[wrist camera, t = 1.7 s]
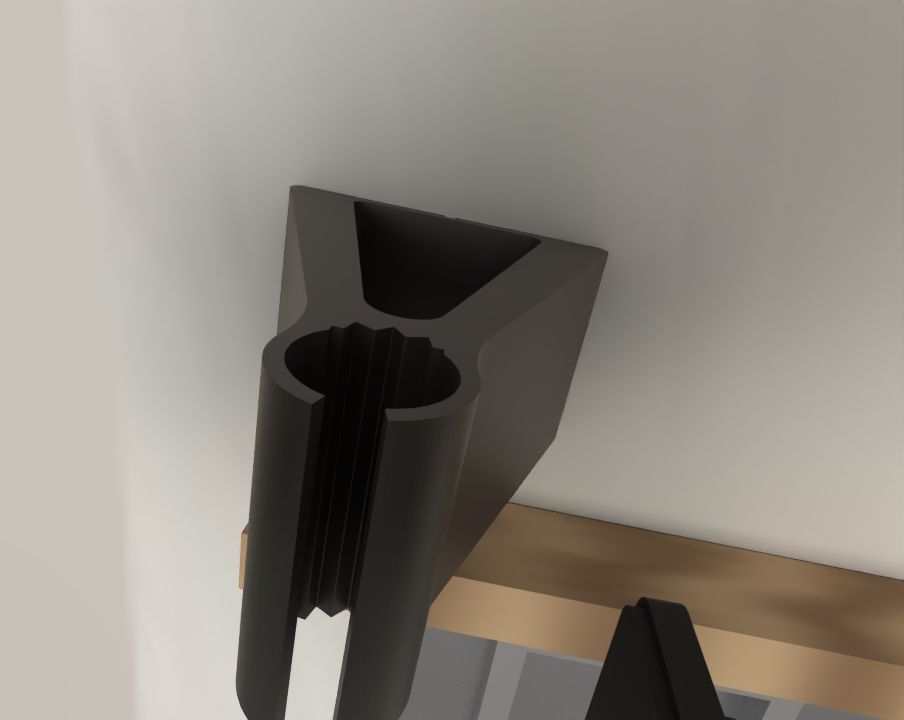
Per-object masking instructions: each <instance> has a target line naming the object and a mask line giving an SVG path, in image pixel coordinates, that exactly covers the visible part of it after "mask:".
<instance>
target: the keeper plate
mask: <svg viewBox="0 0 904 720" xmlns="http://www.w3.org/2000/svg"><path fill="white" fill-rule="evenodd" d="M603 664H604V662H600V661H595V660H590V659H585V658H580V657H575V656H570V655H565V654H560V653H555V652H550V651H546V650H541V649H536V648H531V647H526V646H521V645H516V644H511V643H506V642H501V641H496V640H491V639H486V638H481V637H477V636H472V635H467V634H462V633H457V632H452V631H447V630H442V629H437V628H432V627H427V626H426V628H425V632H424V636H423V641H422V645H421V649H420V654H419V658H418V662H417V667H416V671H415V676H414V680H413V684H412V689H411V693H410V697H409V700H408V703H407V705H406V707H405V709H404V711H403V713H402V715H401V716H400V718H399V719H398V720H585V717H586V714H587V711H588V708H589V705H590V702H591V699H592V696H593V694H594V691H595V688H596V685H597V682H598V679H599V676H600V673H601V670H602V667H603ZM714 687H715V690H716V693H717V695H718V698H719V701H720V704H721V707H722V710H723V713H724V716H726V717H731V718H735V719H737V720H886V719H881V718H876V717H871V716H866V715H861V714H856V713H851V712H846V711H841V710H836V709H832V708H827V707H822V706H817V705H812V704H807V703H802V702H797V701H792V700H787V699H782V698H777V697H772V696H767V695H762V694H758V693H753V692H748V691H743V690H738V689H733V688H728V687H723V686H718V685H714Z"/></svg>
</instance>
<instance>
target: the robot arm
mask: <svg viewBox="0 0 904 720" xmlns="http://www.w3.org/2000/svg"><path fill="white" fill-rule="evenodd" d="M585 720H737V719H735V718H731V717H726V716H724V713H723V710H722V707H721V704H720V701H719V698H718V695H717V693H716V690H715V687H714V684H713V681H712V678H711V675H710V673H709V670H708V667H707V664H706V661H705V658H704V655H703V653H702V650H701V647H700V644H699V641H698V638H697V635H696V633H695V630H694V627H693V624H692V621H691V618H690V615H689V613H688V610H687V608H686V607H685V606H684V605H683V604H680V603H675V602H670V601H664V600H659V599H653V598H648V597H641V598H640V599H639V600H638V601H637V604H636V606H631V605H625V606H624V607H623V609H622V612H621V614H620V617H619V620H618V623H617V626H616V629H615V632H614V635H613V638H612V641H611V644H610V647H609V650H608V653H607V655H606V658H605V661H604V664H603V667H602V670H601V673H600V676H599V679H598V682H597V685H596V688H595V691H594V694H593V696H592V699H591V702H590V705H589V708H588V711H587V714H586V717H585Z"/></svg>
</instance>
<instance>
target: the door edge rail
mask: <svg viewBox="0 0 904 720" xmlns="http://www.w3.org/2000/svg"><path fill="white" fill-rule="evenodd" d="M248 525H249V522H248V524H247V525H246V527H245V529H244V530H243V532H242V533H241V553H240V573H239V588H240V589H243V586H244V574H245V561H246V549H247V537H248ZM641 597H648V598H653V599H659V600H664V601H670V602H675V603H680V604H683V605H684V606H685V607H686V608H687V610H688V613H689V615H690V618H691V621H692V624H693V627H694V630H695V633H696V635H697V638H698V641H699V644H700V647H701V650H702V653H703V655H704V658H705V661H706V664H707V667H708V670H709V673H710V675H711V678H712V681H713V684H714V685H718V686H723V687H728V688H733V689H738V690H743V691H748V692H753V693H758V694H762V695H767V696H772V697H777V698H782V699H787V700H792V701H797V702H802V703H807V704H812V705H817V706H822V707H827V708H832V709H836V710H841V711H846V712H851V713H856V714H861V715H866V716H871V717H876V718H881V719H886V720H904V581H901V580H896V579H891V578H886V577H881V576H876V575H870V574H865V573H860V572H855V571H850V570H845V569H840V568H835V567H830V566H825V565H820V564H815V563H810V562H805V561H800V560H795V559H790V558H785V557H779V556H774V555H769V554H764V553H759V552H754V551H749V550H744V549H739V548H734V547H729V546H724V545H719V544H714V543H709V542H704V541H699V540H694V539H689V538H683V537H678V536H673V535H668V534H663V533H658V532H653V531H648V530H643V529H638V528H633V527H628V526H623V525H618V524H613V523H608V522H603V521H598V520H592V519H587V518H582V517H577V516H572V515H567V514H562V513H557V512H552V511H547V510H542V509H537V508H532V507H527V506H522V505H517V504H512V503H507V504H506V505H505V506H504V508H503V509H502V511H501V512H500V513H499V515H498V516H497V517H496V519H495V520H494V521H493V523H492V524H491V525H490V527H489V528H488V529H487V531H486V532H485V533H484V535H483V536H482V537H481V539H480V540H479V541H478V543H477V544H476V546H475V547H474V548H473V550H472V551H471V552H470V554H469V555H468V556H467V558H466V559H465V560H464V562H463V563H462V564H461V566H460V567H459V568H458V570H457V571H456V572H455V574H454V575H453V577H452V578H451V579H450V581H449V582H448V583H447V585H446V586H445V587H444V589H443V590H442V591H441V593H440V594H439V595H438V597H437V598H436V599H435V601H434V602H433V603H432V605H431V606H430V610H429V615H428V619H427V623H426V626H427V627H432V628H437V629H442V630H447V631H452V632H457V633H462V634H467V635H472V636H477V637H481V638H486V639H491V640H496V641H501V642H506V643H511V644H516V645H521V646H526V647H531V648H536V649H541V650H546V651H550V652H555V653H560V654H565V655H570V656H575V657H580V658H585V659H590V660H595V661H600V662H604V661H605V658H606V655H607V653H608V650H609V647H610V644H611V641H612V638H613V635H614V632H615V629H616V626H617V623H618V620H619V617H620V614H621V612H622V609H623V607H624V606H625V605H631V606H636V604H637V601H638V600H639V599H640V598H641ZM345 610H348V609H345ZM348 611H349V610H348Z"/></svg>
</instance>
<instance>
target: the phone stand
mask: <svg viewBox="0 0 904 720" xmlns="http://www.w3.org/2000/svg"><path fill="white" fill-rule="evenodd" d="M607 257H608V252H607V251H605V250H603V249H600V248H596V247H592V246H587V245H582V244H577V243H573V242H568V241H563V240H558V239H553V238H549V237H544V236H539V235H534V234H530V233H525V232H520V231H515V230H511V229H506V228H501V227H496V226H492V225H487V224H482V223H477V222H473V221H468V220H463V219H458V218H456V219H452V218H447V217H445V216H444V215H439V214H435V213H430V212H425V211H420V210H416V209H411V208H406V207H401V206H397V205H392V204H387V203H382V202H377V201H373V200H368V199H363V198H358V197H354V196H349V195H344V194H339V193H335V192H330V191H325V190H320V189H316V188H311V187H306V186H290V195H289V206H288V217H287V228H286V239H285V250H284V261H283V273H282V284H281V295H280V306H279V317H278V328H277V336H275V337H274V338H273V339H272V340H270V341H269V342H268V344H267V345H266V346H265V348H264V351H263V354H262V366H261V378H260V390H259V402H258V414H257V427H256V439H255V451H254V463H253V476H252V488H251V500H250V512H249V525H248V537H247V549H246V561H245V574H244V586H243V598H242V610H241V623H240V635H239V647H238V659H237V672H236V691H237V696H238V700H239V703H240V706H241V708H242V710H243V712H244V714H245V716H246V717H247V719H248V720H284V719H285V711H286V703H287V695H288V687H289V679H290V671H291V664H292V656H293V648H294V640H295V632H296V624H297V617H299V618H302V619H304V620H305V619H306V618H307V617H308V616H309V614H310V613H311V612H312V611H313V610H314V608H315V607H318V608H319V609H321V610H322V611H323V612H325V613H326V614H327V615H329V616H330V617H333V616H334V615H336V614H338V613H340V612H342V611H343V610H345V609H348V610H349V611H350V613H351V614H350V620H349V626H348V632H347V638H346V644H345V650H344V656H343V662H342V668H341V674H340V680H339V686H338V692H337V698H336V704H335V710H334V716H333V720H398V719H399V718H400V716H401V715H402V713H403V711H404V709H405V707H406V705H407V703H408V700H409V697H410V693H411V689H412V684H413V680H414V676H415V671H416V667H417V662H418V658H419V654H420V649H421V645H422V641H423V636H424V632H425V628H426V623H427V619H428V615H429V610H430V606H431V605H432V603H433V602H434V601H435V599H436V598H437V597H438V595H439V594H440V593H441V591H442V590H443V589H444V587H445V586H446V585H447V583H448V582H449V581H450V579H451V578H452V577H453V575H454V574H455V572H456V571H457V570H458V568H459V567H460V566H461V564H462V563H463V562H464V560H465V559H466V558H467V556H468V555H469V554H470V552H471V551H472V550H473V548H474V547H475V546H476V544H477V543H478V541H479V540H480V539H481V537H482V536H483V535H484V533H485V532H486V531H487V529H488V528H489V527H490V525H491V524H492V523H493V521H494V520H495V519H496V517H497V516H498V515H499V513H500V512H501V511H502V509H503V508H504V506H505V505H506V504H507V502H508V501H509V500H510V498H511V497H512V496H513V494H514V493H515V492H516V490H517V489H518V488H519V486H520V485H521V484H522V482H523V481H524V480H525V478H526V477H527V475H528V474H529V473H530V471H531V470H532V469H533V467H534V466H535V465H536V463H537V462H538V461H539V459H540V458H541V457H542V455H543V454H544V453H545V451H546V450H547V449H548V447H549V446H550V445H551V443H552V442H553V440H554V439H555V436H556V433H557V430H558V426H559V423H560V419H561V416H562V412H563V409H564V405H565V402H566V398H567V395H568V392H569V388H570V385H571V381H572V378H573V374H574V371H575V367H576V364H577V360H578V357H579V353H580V350H581V347H582V343H583V340H584V336H585V333H586V329H587V326H588V322H589V319H590V315H591V312H592V309H593V305H594V302H595V298H596V295H597V291H598V288H599V284H600V281H601V277H602V274H603V270H604V267H605V264H606V260H607Z"/></svg>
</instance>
